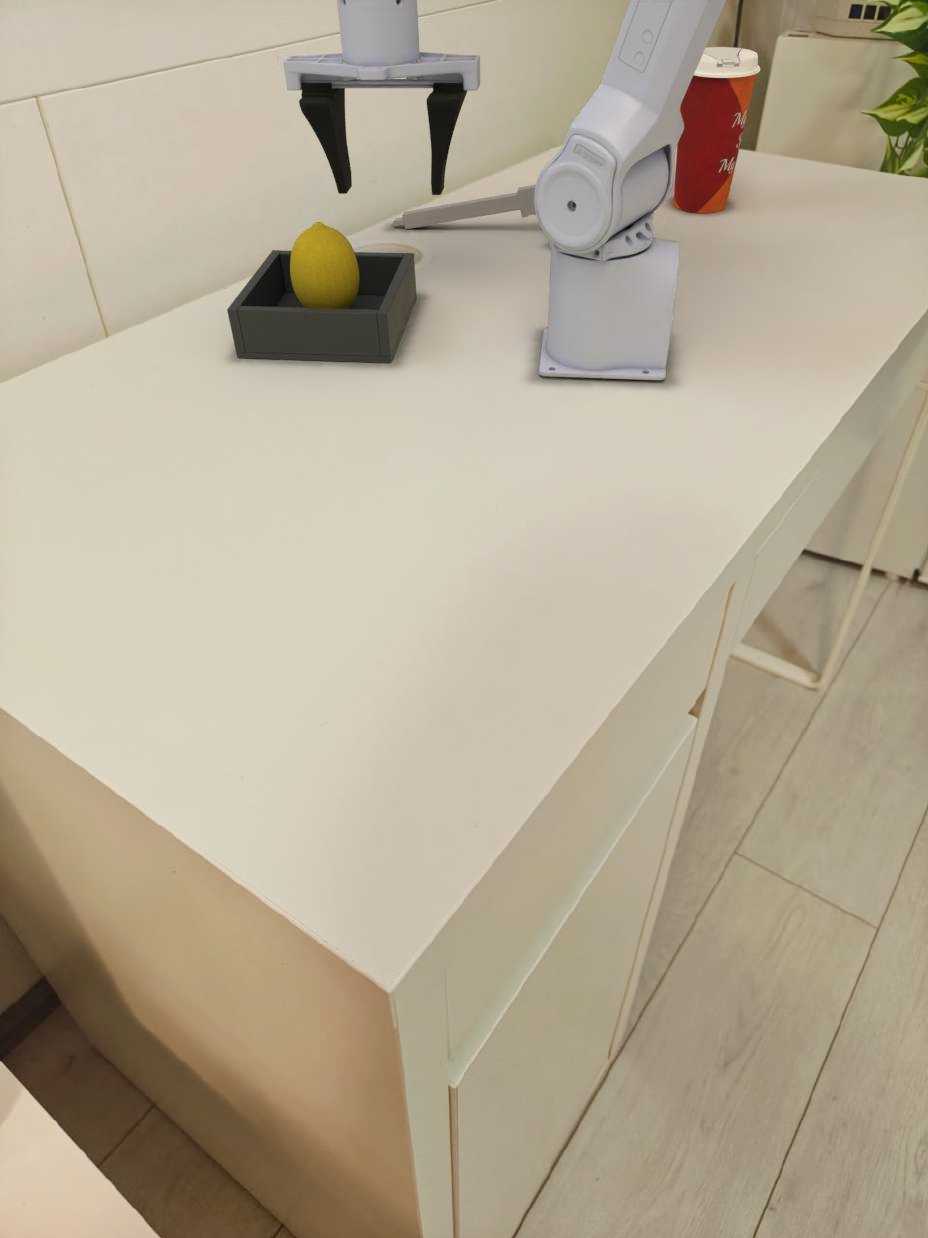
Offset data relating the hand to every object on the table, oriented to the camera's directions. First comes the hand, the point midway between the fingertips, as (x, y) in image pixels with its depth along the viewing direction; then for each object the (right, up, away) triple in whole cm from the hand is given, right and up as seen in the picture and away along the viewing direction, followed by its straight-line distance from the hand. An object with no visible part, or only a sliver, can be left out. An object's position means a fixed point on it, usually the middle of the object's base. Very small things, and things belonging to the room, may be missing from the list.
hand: (391, 190), depth 71 cm
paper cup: (+31, +10, +24) cm, 41 cm away
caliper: (+8, +5, +20) cm, 22 cm away
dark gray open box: (-5, -10, +3) cm, 12 cm away
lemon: (-5, -10, +3) cm, 12 cm away
